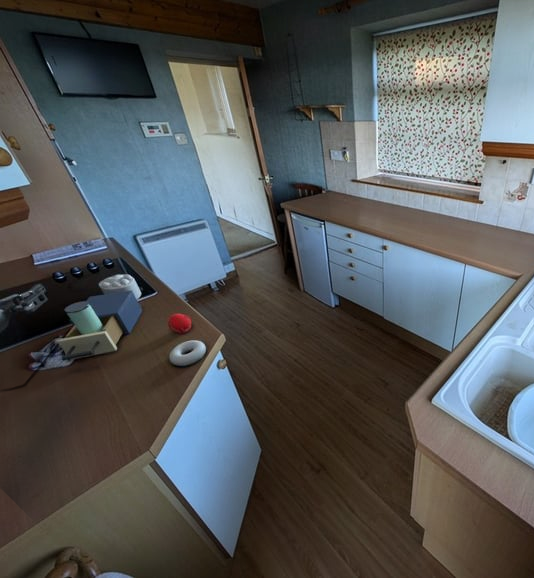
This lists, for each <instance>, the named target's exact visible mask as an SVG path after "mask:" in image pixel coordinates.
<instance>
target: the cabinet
mask: <svg viewBox="0 0 534 578" xmlns="http://www.w3.org/2000/svg"><path fill="white" fill-rule="evenodd" d="M85 301H86V302H88V303H89V304H90V306H91V308H92V309H93V311H94V312H95V314H96V315H97V317H98V318H101V317H107V316H113V315H116V317H117V318H118V320H119V322H120V324H121V325H122V327H123V329H124V331H123V333H122V335H121V336H125V335H130V334H131V333H132V330H133V329H134V327H135V325H136V324H137V321H138V320H139V318H140V316H141V314H142V312H143V309H142V307H141V305H140V303H139V301H138V299H136V297H135V295H134V293H133V291H125V292H118V293H112V294H105V295H104V294H99V295H93V296H88V298H87V300H85ZM69 322H70V324H71V325H72V327H74V325H75V324H74V323H73V321H72V320H71V318H70V319H69Z"/></svg>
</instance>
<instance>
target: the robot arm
mask: <svg viewBox="0 0 534 578" xmlns="http://www.w3.org/2000/svg"><path fill="white" fill-rule="evenodd" d="M46 292H47V289H46V288H45V287H44V285H42V283H37V284H36V283H35V284H34V285H33V286H32V287H30V289H28V290H27V291H25V292H23V293H21V294H18V293H15V294H11V295H9V296H7V297H4V298H2V299H0V334H1V333H2V332H3V331H4V330H5V329H6V328H7V327H8V326H9V324H10V318H11V317H12V316H14V315H17V314H18V312H24V311H25V312H26V314H31V313H34V312H35V311H36V310H37V309H39V308H40V307H41V306H42V305H43V304H45V303H46V302H47V301H48V300H49V299H48V297H47V296H46V295H45V293H46ZM26 297H27V298H26ZM25 298H26V299H25ZM13 300H16V302H17V303H18V304H19V305H16V304H15V303H14V301H13Z"/></svg>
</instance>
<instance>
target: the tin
mask: <svg viewBox="0 0 534 578" xmlns="http://www.w3.org/2000/svg"><path fill="white" fill-rule="evenodd" d="M86 301H87V300H84V301H83V300H82V301H78V302H75V303H71V304H70V305H68V306H66V307H65V308H64V312H65V313H66V315H67V316H68V317H69V318H70V319H71V320H72V321H73V323H74V324H75V326H76V327H77V328H78V330H79V331H80V333H81V334H82V335H86V334H92V333H97V332H103V328H104V326H103V325H102V323H101V322H100V320H99V319H98V317H97V315H96V314H95V312H94V311H93V309H92V308H91V306H90V304H89V303H88V302H86Z"/></svg>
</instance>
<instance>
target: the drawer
mask: <svg viewBox="0 0 534 578" xmlns="http://www.w3.org/2000/svg"><path fill="white" fill-rule="evenodd" d="M98 319H99V320H100V322H101V323H102V325H103V326H104V328H103V332H97V333H92V334H86V335H82V334H81V333H80V331H79V330H78V328H77V327H76V326H75V325H74V326H72V327H71V329H70V330H69V332H68V333H67V334H66V335H65V337H64V338H59V339H58V340H57V344H58V345H59V346H60V348H61V349H62V350H63V352H64V353H65V355H62V356H61V360H62V361H69V360H76V359H81V358H86V357H90V356H91V357H92V356H96V355H101V354H107V353H111V352H116V351H117V350H118V346H117V343H119V340H120V339H121V337H122V336H123V335H122V333H123V331H124V329H123V327H122V325H121V324H120V322H119V320H118V318H117V317H116V315H113V316H107V317H101V318H98Z"/></svg>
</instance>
